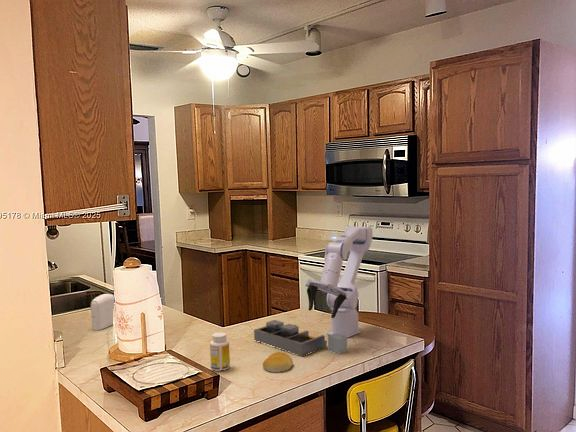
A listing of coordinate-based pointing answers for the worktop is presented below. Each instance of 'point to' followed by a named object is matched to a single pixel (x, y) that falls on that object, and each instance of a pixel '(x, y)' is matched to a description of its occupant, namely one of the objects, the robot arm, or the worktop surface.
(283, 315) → the worktop surface
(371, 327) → the worktop surface
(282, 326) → the rack
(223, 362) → the supplement bottle
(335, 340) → the grey block
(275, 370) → the bread roll
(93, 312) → the photo printer
